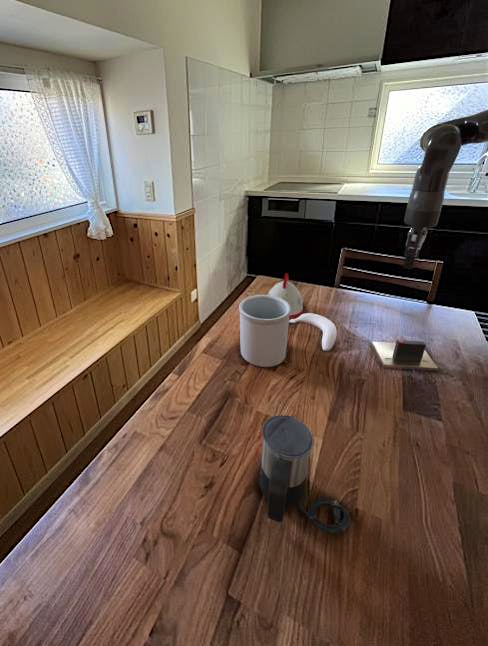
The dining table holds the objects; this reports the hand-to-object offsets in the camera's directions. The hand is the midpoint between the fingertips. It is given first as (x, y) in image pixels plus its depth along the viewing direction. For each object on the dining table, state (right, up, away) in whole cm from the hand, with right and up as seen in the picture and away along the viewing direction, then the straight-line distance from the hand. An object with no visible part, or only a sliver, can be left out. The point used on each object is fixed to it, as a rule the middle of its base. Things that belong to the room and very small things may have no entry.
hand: (410, 263), depth 95 cm
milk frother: (-41, -47, -30) cm, 69 cm away
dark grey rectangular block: (0, -28, +2) cm, 28 cm away
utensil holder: (-40, -29, +11) cm, 50 cm away
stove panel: (+1, -29, +4) cm, 30 cm away
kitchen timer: (-26, -17, +34) cm, 46 cm away
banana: (-21, -24, +19) cm, 37 cm away
